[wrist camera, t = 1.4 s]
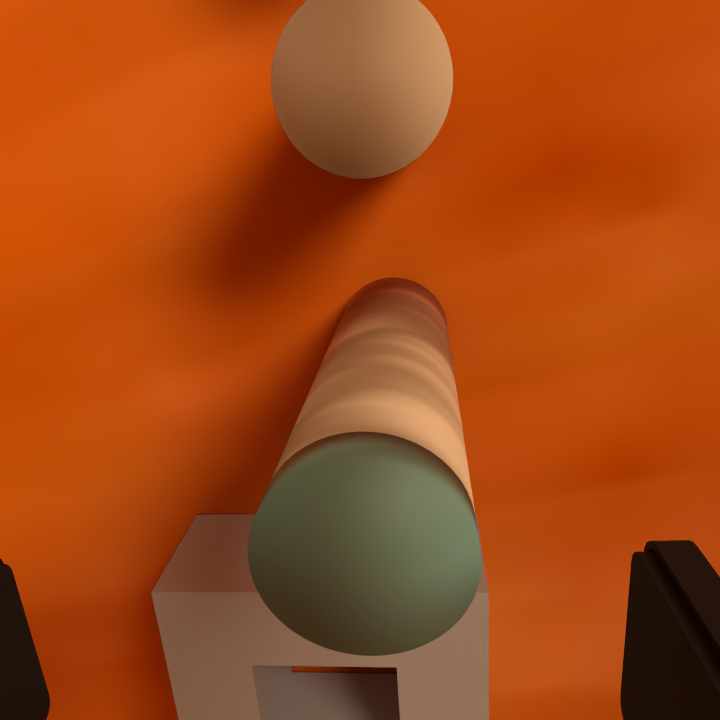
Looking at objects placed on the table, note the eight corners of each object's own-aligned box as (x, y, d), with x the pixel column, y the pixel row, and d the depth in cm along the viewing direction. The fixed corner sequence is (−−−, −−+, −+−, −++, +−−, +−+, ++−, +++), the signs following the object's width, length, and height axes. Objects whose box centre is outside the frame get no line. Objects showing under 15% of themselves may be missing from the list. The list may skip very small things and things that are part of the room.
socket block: (475, 511, 26) (488, 592, 21) (478, 728, 30) (489, 838, 25) (197, 514, 27) (151, 592, 23) (234, 722, 31) (201, 826, 27)
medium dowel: (438, 31, 20) (451, -30, 13) (442, 160, 22) (455, 172, 14) (317, 42, 21) (260, -10, 13) (327, 168, 22) (281, 184, 15)
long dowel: (445, 274, 23) (480, 455, 10) (448, 377, 24) (482, 657, 11) (337, 280, 23) (232, 460, 10) (345, 380, 25) (262, 654, 12)
